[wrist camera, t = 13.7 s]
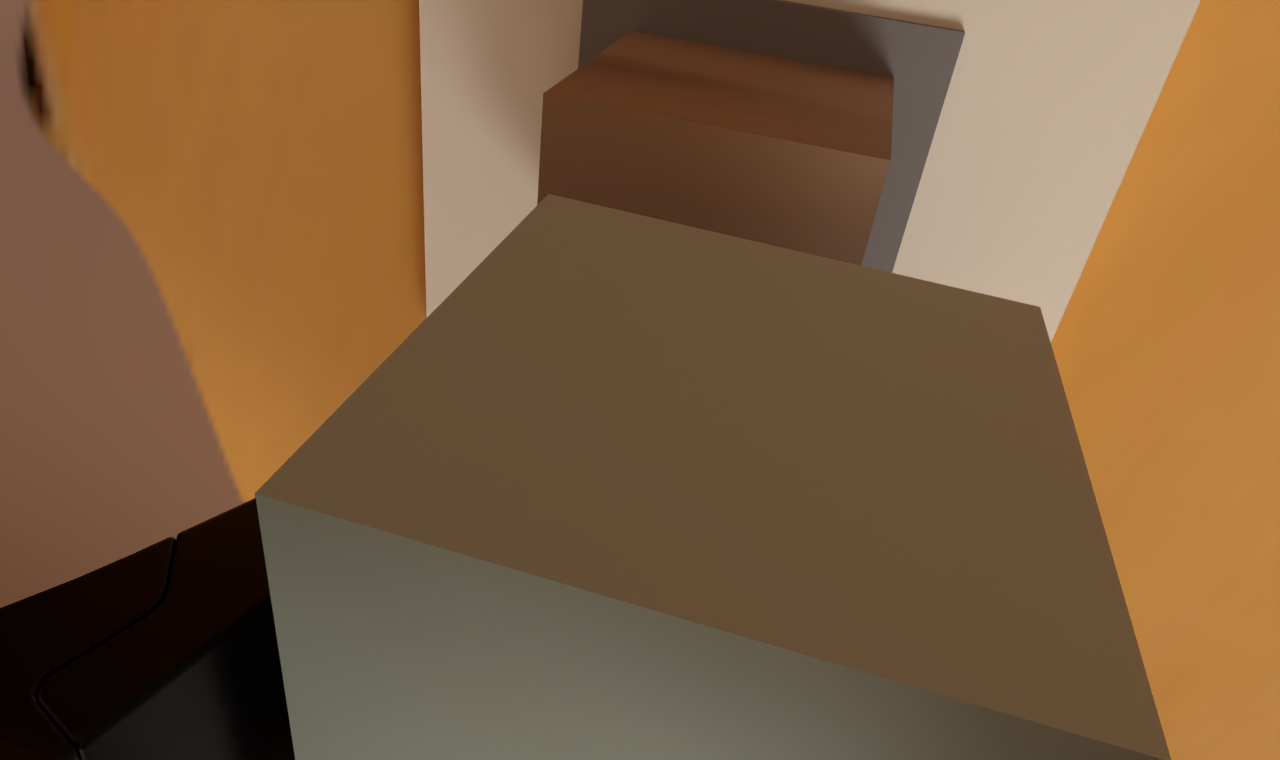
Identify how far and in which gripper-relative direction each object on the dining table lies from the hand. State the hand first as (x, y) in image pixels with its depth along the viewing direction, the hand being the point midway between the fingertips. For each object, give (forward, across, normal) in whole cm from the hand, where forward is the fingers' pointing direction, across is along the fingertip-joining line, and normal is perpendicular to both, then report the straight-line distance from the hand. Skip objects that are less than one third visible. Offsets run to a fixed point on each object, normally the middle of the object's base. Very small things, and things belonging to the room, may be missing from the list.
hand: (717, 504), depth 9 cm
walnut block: (+10, +1, 0) cm, 10 cm away
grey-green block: (+1, 0, 0) cm, 1 cm away
